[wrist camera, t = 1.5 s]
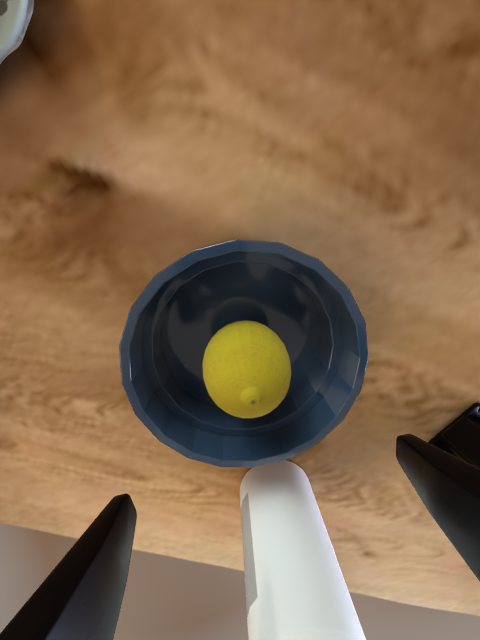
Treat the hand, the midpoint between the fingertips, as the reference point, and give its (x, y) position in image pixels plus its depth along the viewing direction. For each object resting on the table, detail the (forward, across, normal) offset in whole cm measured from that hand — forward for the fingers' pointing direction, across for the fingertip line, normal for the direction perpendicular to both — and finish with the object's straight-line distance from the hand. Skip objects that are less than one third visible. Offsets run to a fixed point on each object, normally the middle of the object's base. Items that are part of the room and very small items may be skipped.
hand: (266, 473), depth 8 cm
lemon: (+12, 0, 0) cm, 12 cm away
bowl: (+12, 0, 0) cm, 12 cm away
